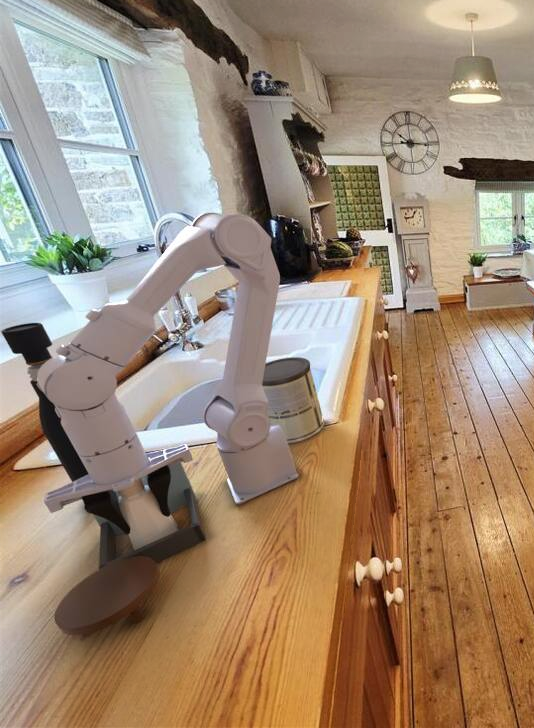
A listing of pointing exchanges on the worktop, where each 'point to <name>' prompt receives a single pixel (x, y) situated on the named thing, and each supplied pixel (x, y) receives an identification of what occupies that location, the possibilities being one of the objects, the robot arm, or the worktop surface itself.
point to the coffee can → (292, 398)
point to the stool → (108, 596)
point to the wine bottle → (34, 350)
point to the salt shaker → (144, 515)
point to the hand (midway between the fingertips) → (148, 521)
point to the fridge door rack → (168, 545)
